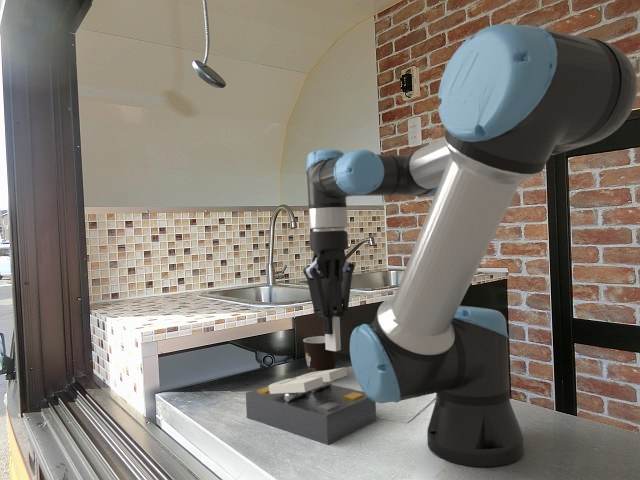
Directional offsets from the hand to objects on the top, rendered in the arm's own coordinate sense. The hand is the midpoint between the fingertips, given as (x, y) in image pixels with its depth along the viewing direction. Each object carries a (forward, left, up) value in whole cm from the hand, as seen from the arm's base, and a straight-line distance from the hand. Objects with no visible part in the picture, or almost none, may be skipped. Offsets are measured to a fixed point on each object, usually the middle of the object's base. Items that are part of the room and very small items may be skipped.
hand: (333, 349), depth 98 cm
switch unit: (+4, +4, -13) cm, 14 cm away
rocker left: (+4, +7, -6) cm, 10 cm away
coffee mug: (+22, -19, -14) cm, 32 cm away
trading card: (-5, -14, -14) cm, 21 cm away
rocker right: (+4, 0, -6) cm, 7 cm away
